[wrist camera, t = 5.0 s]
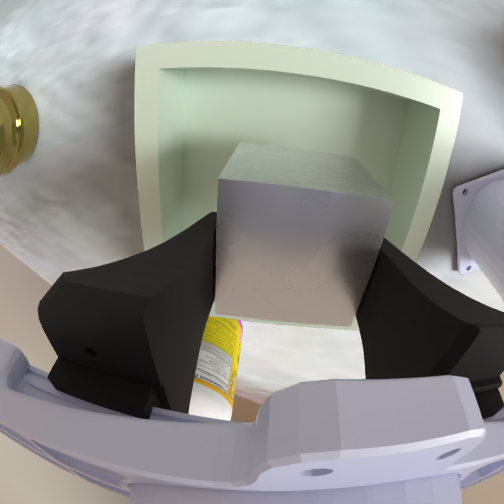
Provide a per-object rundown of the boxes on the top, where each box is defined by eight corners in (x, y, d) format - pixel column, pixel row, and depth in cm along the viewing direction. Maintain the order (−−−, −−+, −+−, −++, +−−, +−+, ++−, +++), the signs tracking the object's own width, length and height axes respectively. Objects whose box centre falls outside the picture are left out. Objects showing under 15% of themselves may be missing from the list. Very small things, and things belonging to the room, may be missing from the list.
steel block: (355, 157, 12) (394, 202, 8) (332, 254, 15) (350, 326, 10) (240, 142, 12) (218, 178, 8) (233, 242, 15) (215, 313, 11)
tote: (420, 86, 14) (463, 93, 10) (368, 284, 22) (383, 331, 18) (172, 52, 14) (136, 46, 10) (174, 262, 22) (152, 307, 18)
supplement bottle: (213, 350, 28) (187, 474, 17) (156, 313, 26) (105, 440, 15) (261, 317, 25) (247, 466, 14) (197, 271, 23) (144, 426, 12)
